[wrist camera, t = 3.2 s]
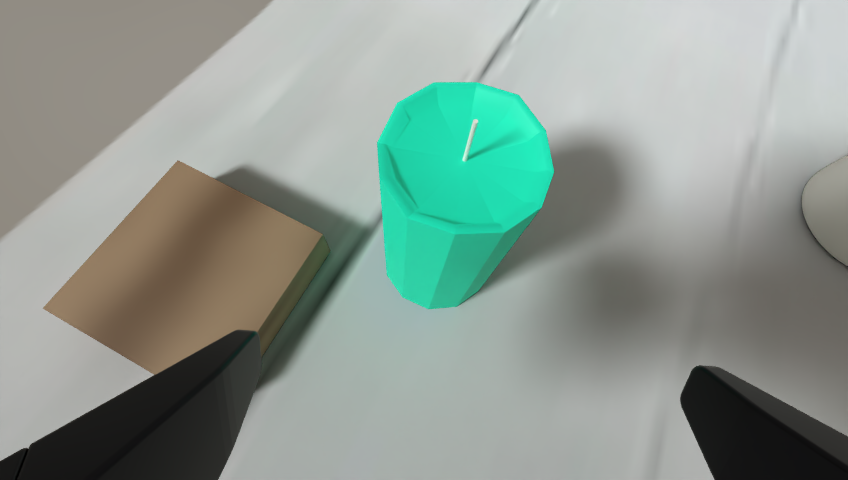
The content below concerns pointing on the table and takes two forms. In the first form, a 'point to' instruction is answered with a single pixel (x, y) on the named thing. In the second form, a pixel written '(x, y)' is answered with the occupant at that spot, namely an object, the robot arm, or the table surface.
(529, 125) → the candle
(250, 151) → the table surface
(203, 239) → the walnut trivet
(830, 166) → the pill bottle
